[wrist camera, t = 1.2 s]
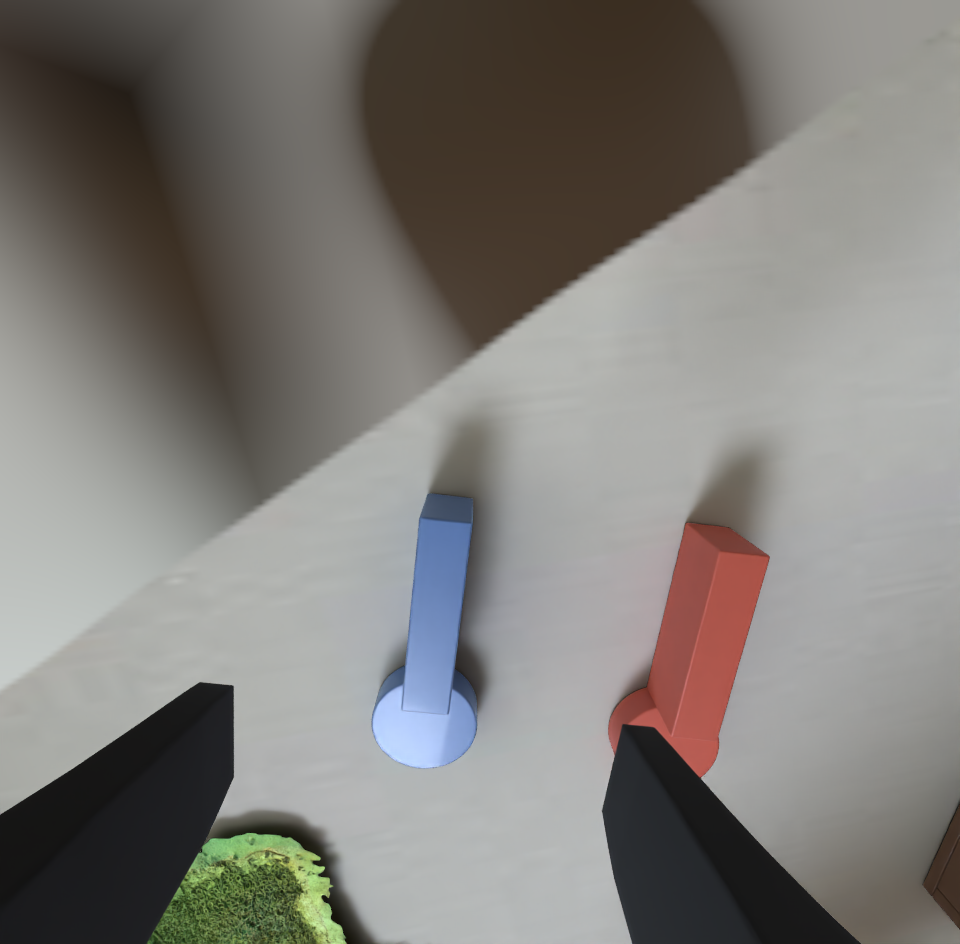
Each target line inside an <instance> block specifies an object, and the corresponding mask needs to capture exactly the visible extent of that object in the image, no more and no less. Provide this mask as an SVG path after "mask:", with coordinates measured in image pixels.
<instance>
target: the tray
mask: <svg viewBox="0 0 960 944" xmlns="http://www.w3.org/2000/svg"><path fill="white" fill-rule="evenodd" d="M923 886H924V888H925V889H926V890H927V891H928V892H929V894H930V895H931V896H933V898H934V899H935V901H936V902H937V903H938V904H939V905H940V907H941V908H942V909H943V910H944V911H945V913H946V914H947V915H948V916H949V917H950V919H951V920H952V921H953V922H954V924H955V925H956V926H957V927H958V928H959V930H960V804H959V807H958V809H957V811H956V813H955V815H954V818H953V820H952V822H951V824H950V826H949V829H948V831H947V833H946V835H945V837H944V840H943V842H942V844H941V846H940V848H939V851H938V853H937V855H936V857H935V859H934V862H933V864H932V866H931V868H930V870H929V873H928V875H927V877H926V879H925V881H924V884H923Z"/></svg>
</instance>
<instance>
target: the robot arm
mask: <svg viewBox="0 0 960 944" xmlns="http://www.w3.org/2000/svg"><path fill="white" fill-rule="evenodd" d="M233 778H234V686H232V685H222V684H212V683H202V682H199V683H198V684H196V685H195V686H193V687H192V688H190V689H189V690H187V691H186V692H184V693H183V694H181V695H180V696H178V697H177V698H175V699H174V700H173V701H171V702H170V703H168V704H167V705H165V706H164V707H162V708H161V709H160V710H158V711H157V712H155V713H154V714H152V715H151V716H150V717H148V718H147V719H145V720H144V721H142V722H141V723H139V724H138V725H137V726H135V727H134V728H132V729H131V730H129V731H128V732H126V733H125V734H123V735H122V736H121V737H119V738H118V739H116V740H115V741H113V742H112V743H110V744H109V745H107V746H106V747H104V748H103V749H101V750H100V751H98V752H97V753H95V754H94V755H92V756H91V757H89V758H88V759H86V760H85V761H84V762H82V763H81V764H79V765H78V766H76V767H75V768H73V769H72V770H70V771H69V772H67V773H66V774H64V775H62V776H61V777H59V778H58V779H56V780H54V781H53V782H51V783H50V784H48V785H47V786H45V787H43V788H42V789H40V790H39V791H37V792H35V793H34V794H32V795H31V796H29V797H28V798H26V799H24V800H23V801H21V802H20V803H18V804H16V805H15V806H13V807H12V808H10V809H9V810H7V811H5V812H4V813H2V814H1V815H0V944H147V942H148V940H149V939H150V937H151V935H152V933H153V932H154V930H155V928H156V926H157V925H158V923H159V921H160V919H161V918H162V916H163V914H164V912H165V911H166V909H167V907H168V906H169V904H170V902H171V900H172V899H173V897H174V895H175V893H176V892H177V890H178V888H179V886H180V885H181V883H182V881H183V879H184V878H185V876H186V874H187V872H188V871H189V869H190V867H191V865H192V863H193V862H194V860H195V858H196V856H197V855H198V853H199V851H200V849H201V847H202V846H203V844H204V842H205V840H206V838H207V836H208V834H209V831H210V829H211V827H212V825H213V823H214V821H215V818H216V816H217V814H218V812H219V810H220V807H221V805H222V803H223V801H224V798H225V796H226V794H227V791H228V789H229V787H230V784H231V782H232V780H233ZM602 813H603V819H604V825H605V831H606V837H607V843H608V848H609V854H610V859H611V864H612V870H613V875H614V879H615V883H616V886H617V890H618V894H619V897H620V901H621V904H622V908H623V912H624V915H625V919H626V922H627V926H628V930H629V933H630V937H631V940H632V944H861V943H860V942H859V941H858V940H856V939H855V938H854V937H853V936H852V935H851V934H850V933H849V932H848V931H847V930H846V929H845V928H844V927H843V926H842V925H841V924H839V923H838V922H837V921H836V920H835V919H834V918H833V917H832V916H831V915H830V914H829V913H828V912H827V911H826V910H825V909H824V908H823V907H822V906H821V905H820V904H819V903H818V902H817V901H816V900H815V899H814V898H813V897H812V896H811V895H810V894H809V893H808V892H807V891H806V890H805V889H804V888H803V887H802V886H801V885H800V884H799V883H798V882H797V881H796V880H795V879H794V878H793V877H792V876H791V875H790V874H789V873H788V872H787V871H786V870H785V869H784V868H783V867H782V866H781V865H780V864H779V863H778V862H777V861H776V860H775V859H774V858H773V857H772V856H771V855H770V854H769V853H768V852H767V851H766V849H765V848H764V847H763V846H762V845H761V844H760V843H759V842H758V841H757V840H756V839H755V838H754V837H753V836H752V835H751V834H750V833H749V831H748V830H747V829H746V828H745V827H744V826H743V825H742V824H741V823H740V822H739V821H738V820H737V819H736V817H735V816H734V815H733V814H732V813H731V812H730V811H729V810H728V809H727V808H726V806H725V805H724V804H723V803H722V802H721V801H720V800H719V799H718V798H717V797H716V795H715V794H714V793H713V792H712V791H711V790H710V789H709V788H708V786H707V785H706V784H705V783H704V782H703V781H702V780H701V779H700V777H699V776H698V775H697V774H696V773H695V772H694V771H693V770H692V768H691V767H690V766H689V765H688V764H687V763H686V762H685V761H684V759H683V758H682V757H681V756H680V755H679V754H678V753H677V751H676V750H675V749H674V748H673V747H672V746H671V745H670V744H669V742H668V741H667V740H666V739H665V738H664V737H663V736H662V735H661V734H660V733H659V732H658V730H657V729H656V728H655V727H649V726H638V725H628V724H622V728H621V732H620V736H619V740H618V745H617V749H616V753H615V758H614V762H613V766H612V770H611V775H610V779H609V783H608V788H607V792H606V796H605V801H604V805H603V809H602Z"/></svg>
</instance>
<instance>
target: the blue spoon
mask: <svg viewBox="0 0 960 944" xmlns="http://www.w3.org/2000/svg"><path fill="white" fill-rule="evenodd" d="M472 526H473V499H472V498H466V497H457V496H448V495H439V494H431V493H429V494H428V495H427V497H426V500H425V503H424V506H423V509H422V512H421V515H420V518H419V528H418V539H417V549H416V559H415V570H414V580H413V590H412V601H411V611H410V622H409V632H408V642H407V653H406V663H405V666H403V667H401V668H399V669H397V670H396V671H394V672H393V673H392V674H391V675H389V677H388V678H387V679H386V680H385V681H384V683H383V684H382V686H381V688H380V690H379V693H378V696H377V700H376V703H375V707H374V711H373V714H372V731H373V734H374V737H375V739H376V741H377V743H378V745H379V746H380V748H381V749H382V750H383V751H384V752H385V753H386V754H387V755H388V756H389V757H391V758H392V759H394V760H395V761H397V762H399V763H401V764H404V765H407V766H410V767H415V768H435V767H440V766H444V765H447V764H449V763H451V762H453V761H455V760H457V759H458V758H459V757H461V756H462V755H463V754H464V753H465V752H466V751H467V750H468V748H469V747H470V746H471V744H472V742H473V740H474V738H475V735H476V731H477V699H476V695H475V692H474V690H473V688H472V686H471V684H470V683H469V681H468V680H467V679H466V678H465V677H464V676H463V675H462V674H461V673H460V672H458V671H457V670H455V662H456V654H457V646H458V638H459V630H460V622H461V614H462V606H463V598H464V590H465V582H466V574H467V566H468V558H469V550H470V542H471V534H472Z"/></svg>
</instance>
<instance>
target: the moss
mask: <svg viewBox="0 0 960 944" xmlns="http://www.w3.org/2000/svg"><path fill="white" fill-rule="evenodd" d="M202 850H203V851H202V853H198V855H197V856H196V858H195V860H194V862H193V863H192V865H191V867H190V869H189V871H188V872H187V874H186V876H185V878H184V879H183V881H182V883H181V885H180V886H179V888H178V890H177V892H176V893H175V895H174V897H173V899H172V900H171V902H170V904H169V906H168V907H167V909H166V911H165V912H164V914H163V916H162V918H161V919H160V921H159V923H158V925H157V926H156V928H155V930H154V932H153V933H152V935H151V937H150V939H149V940H148V942H147V944H346V942H345V941H344V940H343V939H344V938H346V936H344V935H343V931H342V927H341V926H340V925H337V924H336V923H335V922H333V921H332V920H331V914H332V911H331V908H330V906H329V904H327V903H325V902H324V901H323V900H322V898H321V896H322V895H325V896H327V898H329V895H330V892H329V891H328V889H329V888H330V887H334V886H332V885H330V882H329V881H330V878H324V877H319V876H317V875H318V874H319V873H322V872H323V871H324V869H325V867H324V866H323V867H319V866H317V865H314V863H313V861H314V860H316V861H320V857H319V856H317V855H315V854H314V853H312V852H308V851H306V850H304V849H303V848H302V847H301V845H300V843H298V842H297V841H294V840H293V839H292V838H291V837H289V838H282V837H281V835H280V836H278V835H266V834H264V835H257V834H256V833H246V834H245V835H236V836H234V837H233V838H230V839H219V838H211V839H210V840H209V842H208V843H206V844H204V845H203V847H202ZM346 939H347V938H346Z"/></svg>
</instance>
